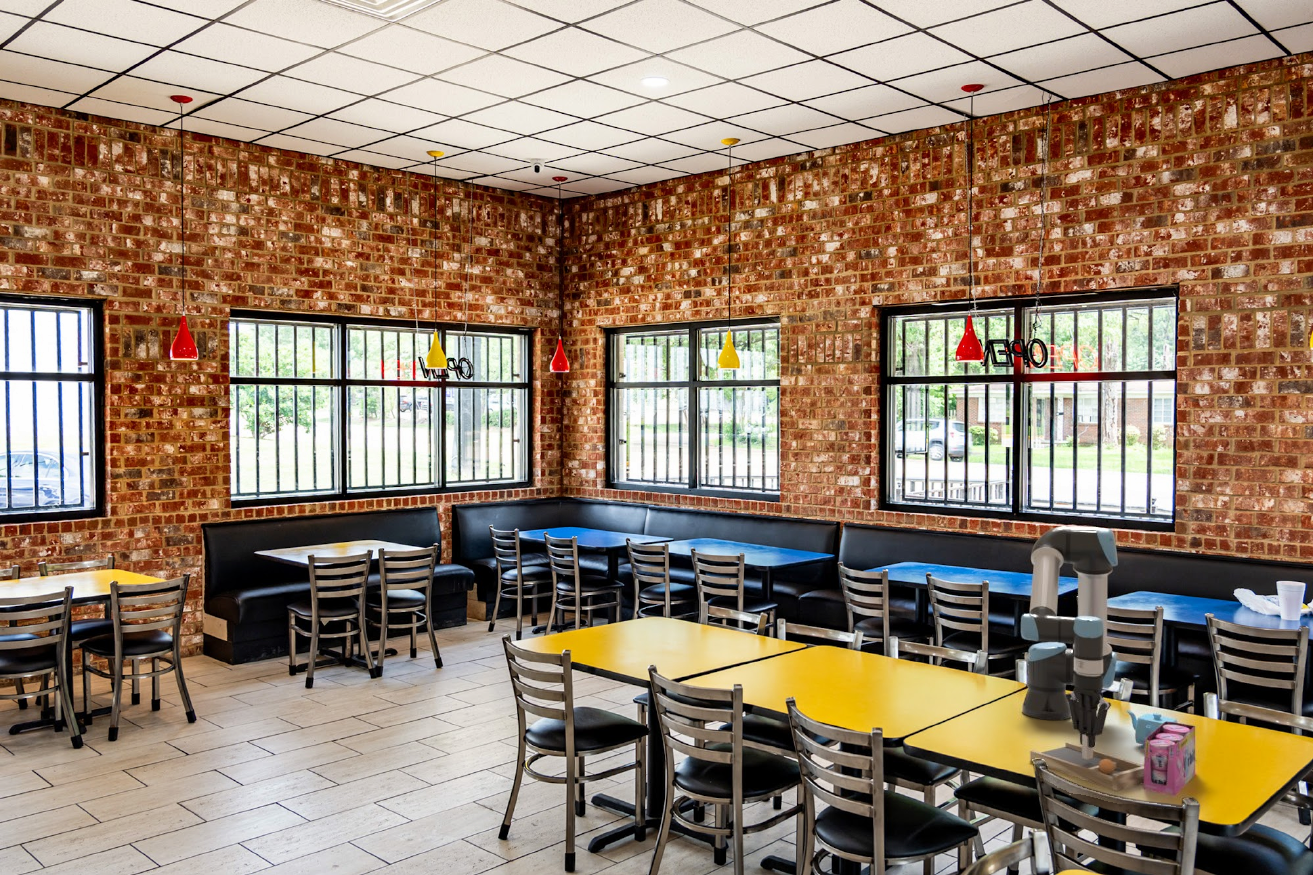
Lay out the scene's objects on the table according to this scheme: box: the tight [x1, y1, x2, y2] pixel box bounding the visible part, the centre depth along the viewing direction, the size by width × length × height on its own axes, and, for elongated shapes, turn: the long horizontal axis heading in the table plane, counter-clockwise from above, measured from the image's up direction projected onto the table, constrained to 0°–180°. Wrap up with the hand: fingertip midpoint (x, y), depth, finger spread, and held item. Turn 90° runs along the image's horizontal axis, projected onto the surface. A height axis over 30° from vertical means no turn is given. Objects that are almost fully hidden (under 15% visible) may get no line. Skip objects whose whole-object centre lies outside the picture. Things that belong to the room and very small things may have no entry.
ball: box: [1099, 759, 1115, 774], centre depth 278 cm, size 4×4×4 cm
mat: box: [1040, 746, 1124, 776], centre depth 283 cm, size 14×26×2 cm, turn 31°
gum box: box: [1143, 721, 1196, 797], centre depth 274 cm, size 24×8×14 cm, turn 140°
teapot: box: [1125, 710, 1178, 749], centre depth 302 cm, size 18×14×10 cm
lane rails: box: [1029, 741, 1144, 792], centre depth 282 cm, size 16×27×4 cm, turn 31°
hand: (1087, 757), depth 283 cm, fingers closed
